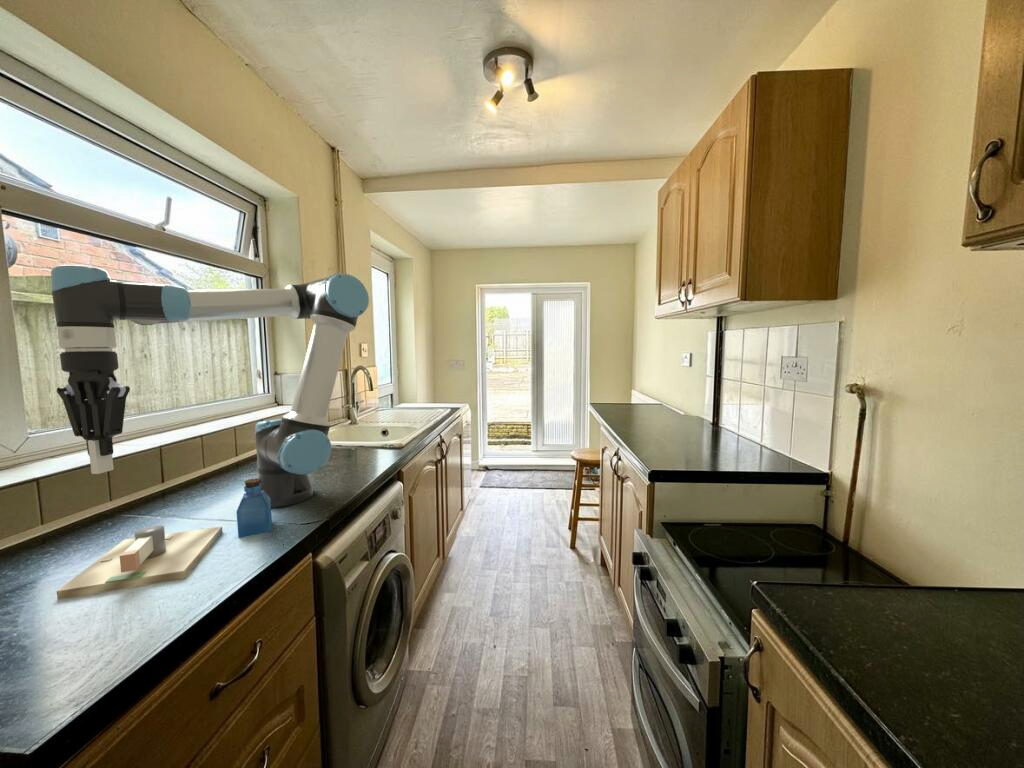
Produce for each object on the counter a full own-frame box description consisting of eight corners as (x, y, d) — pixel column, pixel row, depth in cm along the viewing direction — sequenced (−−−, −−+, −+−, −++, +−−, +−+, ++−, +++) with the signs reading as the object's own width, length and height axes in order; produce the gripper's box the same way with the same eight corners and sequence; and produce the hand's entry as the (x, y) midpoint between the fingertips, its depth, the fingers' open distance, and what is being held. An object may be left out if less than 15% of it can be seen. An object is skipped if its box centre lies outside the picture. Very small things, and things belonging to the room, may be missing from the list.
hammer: (142, 551, 82) (140, 527, 81) (169, 546, 84) (167, 523, 83) (113, 581, 71) (110, 555, 71) (145, 575, 73) (142, 549, 72)
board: (222, 532, 93) (221, 525, 93) (184, 578, 74) (183, 569, 74) (125, 546, 87) (124, 538, 87) (57, 599, 69) (56, 590, 68)
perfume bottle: (238, 538, 90) (234, 486, 89) (242, 527, 96) (238, 479, 95) (270, 532, 93) (266, 482, 92) (271, 522, 99) (268, 474, 98)
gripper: (33, 351, 73) (49, 477, 75) (97, 349, 71) (111, 478, 74) (81, 350, 80) (94, 465, 82) (140, 349, 79) (152, 466, 81)
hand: (102, 471), depth 78 cm, fingers closed
